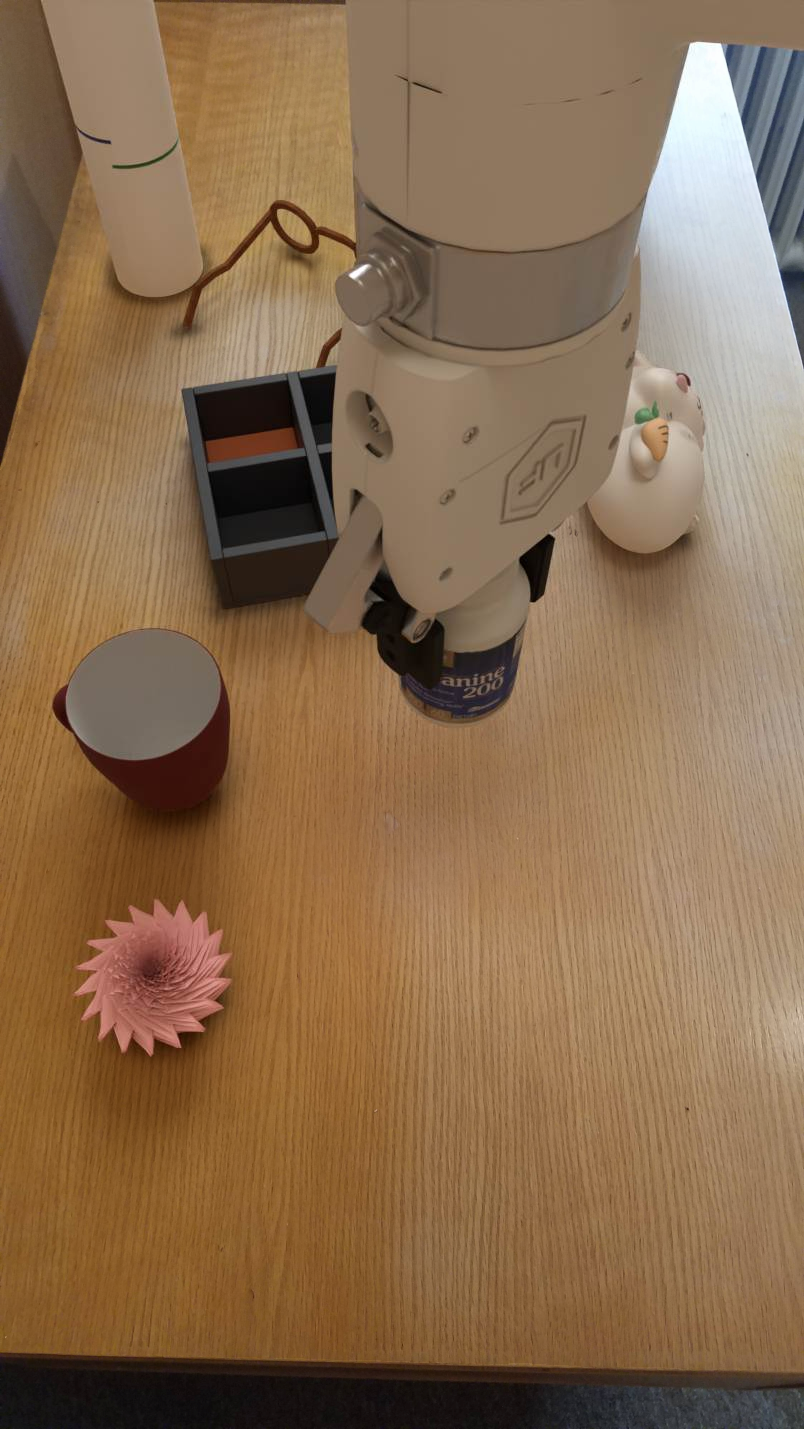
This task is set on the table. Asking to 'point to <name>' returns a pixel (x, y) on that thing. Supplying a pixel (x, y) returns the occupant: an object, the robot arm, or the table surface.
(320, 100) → the table surface
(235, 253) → the glasses
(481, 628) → the pill bottle
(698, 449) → the white animal figurine
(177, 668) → the mug
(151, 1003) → the flower
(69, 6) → the cylindrical container
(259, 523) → the divided storage tray
